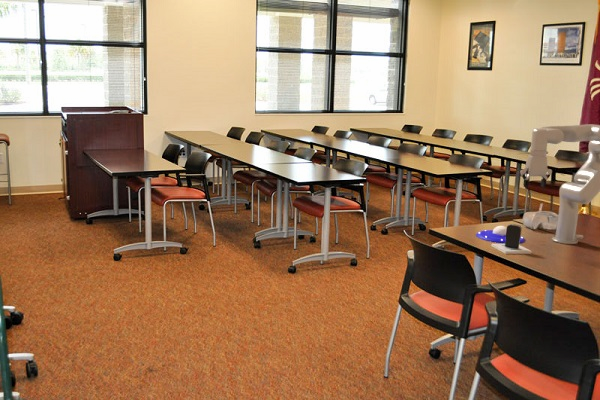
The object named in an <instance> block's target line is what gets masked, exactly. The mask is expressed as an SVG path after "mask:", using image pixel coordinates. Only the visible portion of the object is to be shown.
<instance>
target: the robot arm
mask: <svg viewBox="0 0 600 400" xmlns="http://www.w3.org/2000/svg"><path fill="white" fill-rule="evenodd" d="M530 141H531V142H530V143H531V144H530V151H529V155H528V156H527V159H526V163H525V166H524V168H523V169H520V170H519V173H520V177H522V179H523V182H522V183H523V187H524V188H526V189H527V188H529V185H530V184H529V183H530V181H529V179H530V177H541V181H540V187H541V188H543V189H545V188H546V185H547V181H548V179H549V178H550V176H551V175H552V173H553V170H552V169H549V168H548V158H547V155H548V154H549V151H547V150H548V148H547V147H548V144H551V145H557V144H561V143H562V142H566V143H579V142H589V143H588V157H587V160H586V161H585V162H584V163H583V164H582V166H581V167H580V168H579V169H578V170H577V172H576V173H575V175H574V177H573V179H574V182H571V181H569V182H568V181H567V182H564V183H562V184H561V186H560V187H559V191H558V192H559V193H558V194H559V207H558V214H557V215H558V221H557V229H556V231H555V236H552V238H551V240H552V241H553V242H555V243H559V244H564V245H577V244H578V239H579V240H580V239H583V238H584V235H583V234H577V233H576V231H577V225H578V218H579V210H580V209H579V208H580V207H579V204H582V205H587V204H589V203H591V202H592V201H593V200H594V199H595V197H596V196H597V195H598V194H599V193H600V124H592V123H590V124H587V123H586V124H579V125H578V124H576V125H575V124H574V125H553V126H552V125H551V126H542V127H539V128H534V129H533V130H532V133H531V140H530Z"/></svg>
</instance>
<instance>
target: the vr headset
mask: <svg viewBox="0 0 600 400" xmlns="http://www.w3.org/2000/svg"><path fill="white" fill-rule="evenodd" d="M543 205H544V203H540V204H539V208H538V211H526V212H525V213H524V214H523V216H522V224H523V226H524V227H527V228H529V229H531V230H535V231H536V230H537V229H541V230H542V229H543V230H546V229H547V230H546V231H555V230H556V229H557V221H558V214H557V213H556V212H553V211H549V210H548V211H547V210H543Z"/></svg>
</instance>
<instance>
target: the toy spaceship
mask: <svg viewBox="0 0 600 400" xmlns="http://www.w3.org/2000/svg"><path fill="white" fill-rule="evenodd" d="M506 229H507V226H505V225H497V226H495V227H494V228H493V229H491V230H489V229H487V230H486V229H485V230H481V231H478V232H476V234H475V237H476V238H478V239H481V240H483V241H487V242H490V241H491V242H490V243H495V242H496V243H495V244H502V243H503V244H505V240H506ZM525 242H526V239H525V238H524V237H523V236H521V237H520V244H523V243H525Z"/></svg>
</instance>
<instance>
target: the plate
mask: <svg viewBox="0 0 600 400" xmlns="http://www.w3.org/2000/svg"><path fill="white" fill-rule="evenodd" d="M490 247H492V248H494V249H495V250H498V251H500V252H501V253H502V254H505V255H507V254H510V255H511V254H512V255H516V254H517V255H519V254H521V255H522V254H523V255H525V254H526V255H527V254H530V255H531V254H532V250H530V249H528V248H526V247H525V246H523V245H520V244H519V248H511V247H506V246H505V244H502V243H491V245H490Z"/></svg>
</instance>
